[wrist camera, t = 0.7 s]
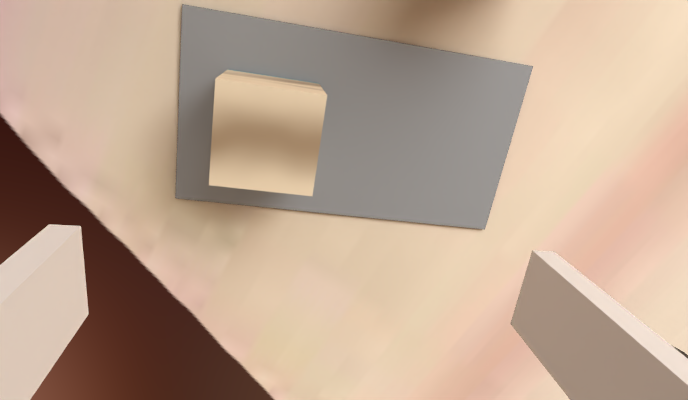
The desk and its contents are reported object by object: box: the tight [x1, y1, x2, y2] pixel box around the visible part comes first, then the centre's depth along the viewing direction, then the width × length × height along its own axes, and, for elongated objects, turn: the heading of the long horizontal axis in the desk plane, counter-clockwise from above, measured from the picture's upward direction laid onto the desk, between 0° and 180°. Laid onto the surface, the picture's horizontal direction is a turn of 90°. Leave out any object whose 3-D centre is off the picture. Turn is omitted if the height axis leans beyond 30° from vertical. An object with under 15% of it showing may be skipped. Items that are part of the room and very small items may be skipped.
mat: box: [175, 4, 533, 229], centre depth 37 cm, size 15×28×1 cm, turn 81°
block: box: [209, 69, 327, 196], centre depth 32 cm, size 7×7×7 cm
